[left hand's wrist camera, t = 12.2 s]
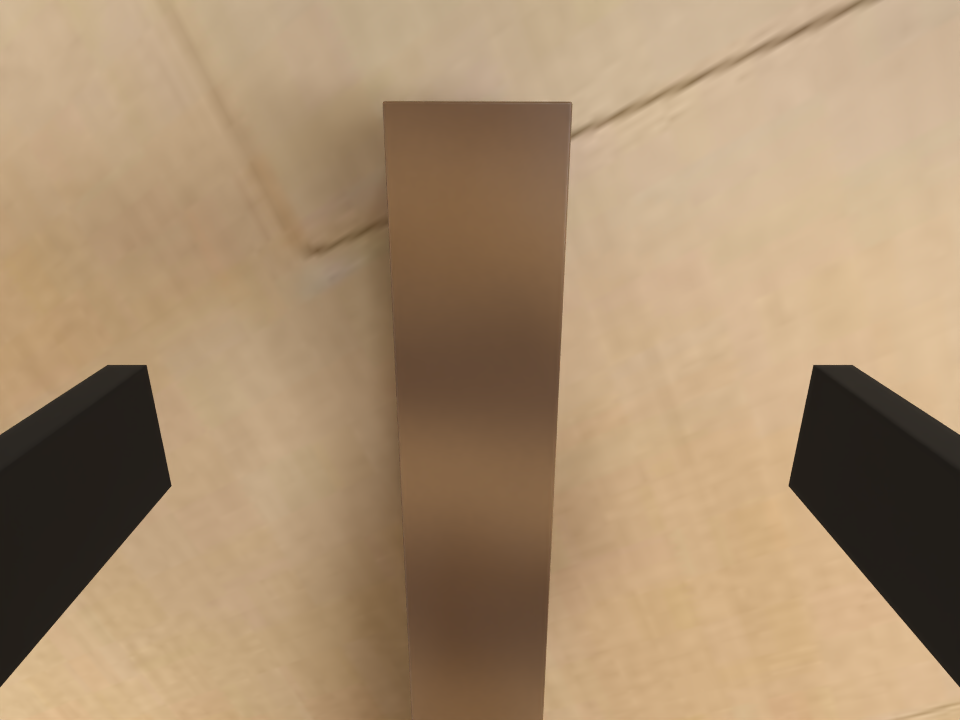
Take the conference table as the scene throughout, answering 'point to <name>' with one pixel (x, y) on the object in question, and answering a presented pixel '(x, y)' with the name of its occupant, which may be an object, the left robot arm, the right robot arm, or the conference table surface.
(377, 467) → the conference table surface
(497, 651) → the bar
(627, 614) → the conference table surface
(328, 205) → the conference table surface
